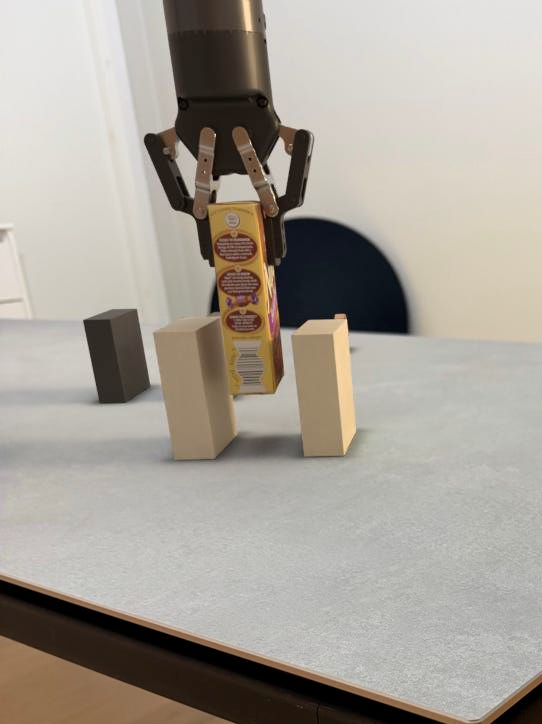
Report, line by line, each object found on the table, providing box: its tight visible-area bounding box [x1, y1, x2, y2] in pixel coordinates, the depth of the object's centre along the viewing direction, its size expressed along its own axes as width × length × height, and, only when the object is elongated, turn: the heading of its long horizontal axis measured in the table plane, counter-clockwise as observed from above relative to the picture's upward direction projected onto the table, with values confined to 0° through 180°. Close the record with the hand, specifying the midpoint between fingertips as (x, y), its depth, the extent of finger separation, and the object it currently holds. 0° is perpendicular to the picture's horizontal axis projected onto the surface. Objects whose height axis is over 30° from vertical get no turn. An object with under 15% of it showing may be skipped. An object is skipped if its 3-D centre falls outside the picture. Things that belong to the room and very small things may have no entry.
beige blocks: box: [152, 316, 357, 461], centre depth 86 cm, size 15×9×11 cm, turn 90°
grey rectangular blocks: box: [82, 308, 237, 404], centre depth 109 cm, size 15×9×9 cm, turn 90°
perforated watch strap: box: [333, 313, 350, 337], centre depth 134 cm, size 3×5×5 cm, turn 0°
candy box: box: [207, 199, 286, 396], centre depth 83 cm, size 9×4×15 cm, turn 5°
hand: (245, 264), depth 82 cm, fingers closed on candy box, 4 cm apart
